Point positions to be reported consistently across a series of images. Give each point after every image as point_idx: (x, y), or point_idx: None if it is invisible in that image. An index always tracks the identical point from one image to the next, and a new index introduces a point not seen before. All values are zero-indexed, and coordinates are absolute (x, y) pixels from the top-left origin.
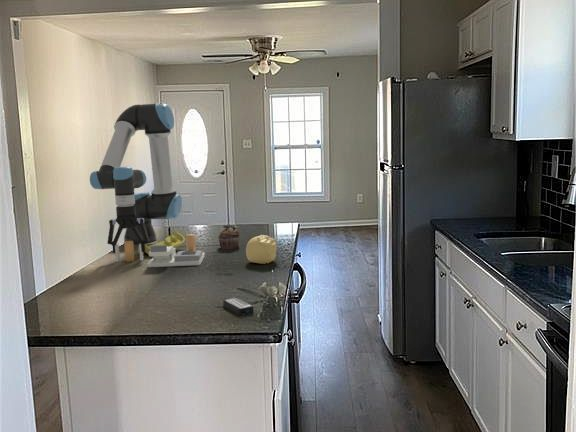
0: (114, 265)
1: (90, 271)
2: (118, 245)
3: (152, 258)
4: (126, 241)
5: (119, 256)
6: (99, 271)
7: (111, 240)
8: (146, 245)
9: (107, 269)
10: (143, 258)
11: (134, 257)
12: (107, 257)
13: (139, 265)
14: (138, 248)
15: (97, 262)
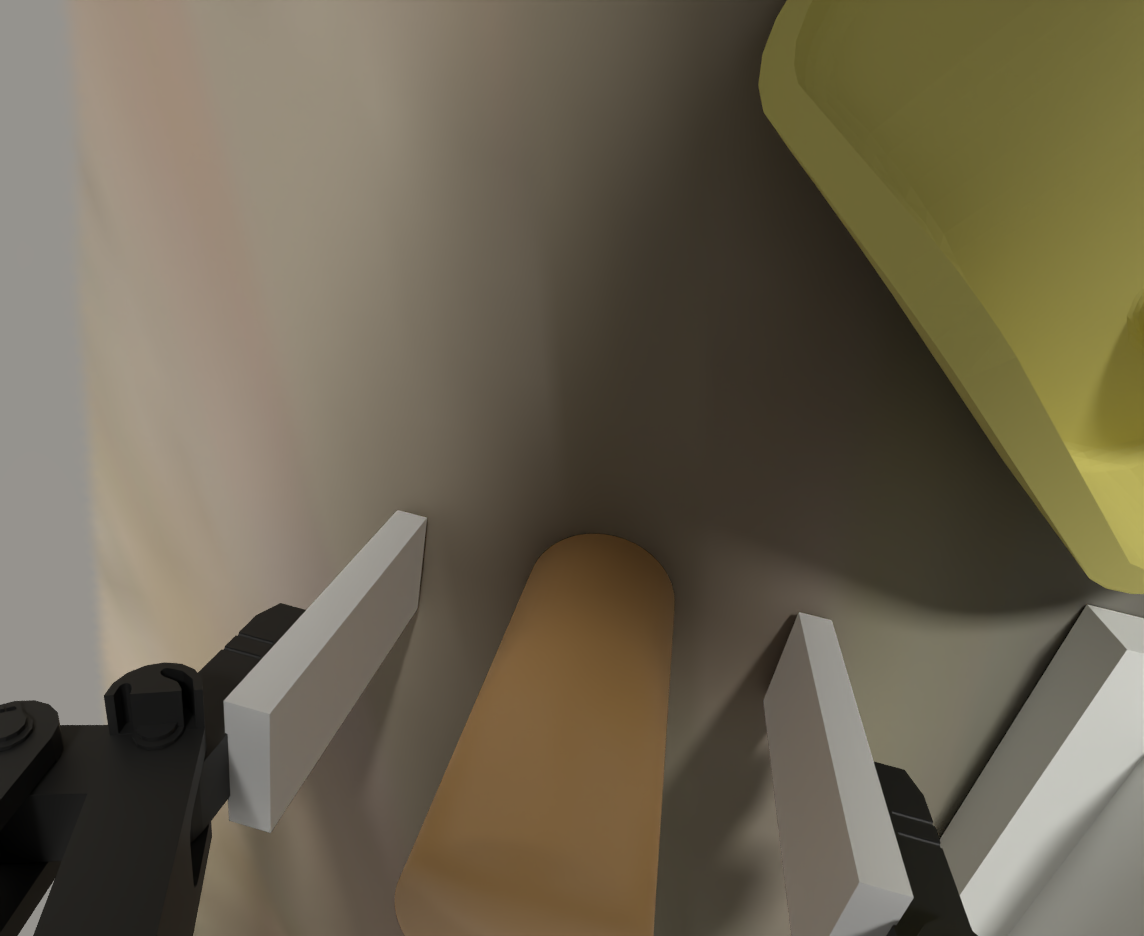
0: (408, 760)
1: (211, 877)
2: (282, 714)
3: (966, 892)
4: (457, 898)
5: (400, 557)
6: (305, 918)
7: (6, 795)
8: (1065, 463)
9: (368, 887)
10: (832, 626)
11: (672, 637)
12: (128, 115)
13: (734, 901)
14: (800, 161)
15: (111, 484)
